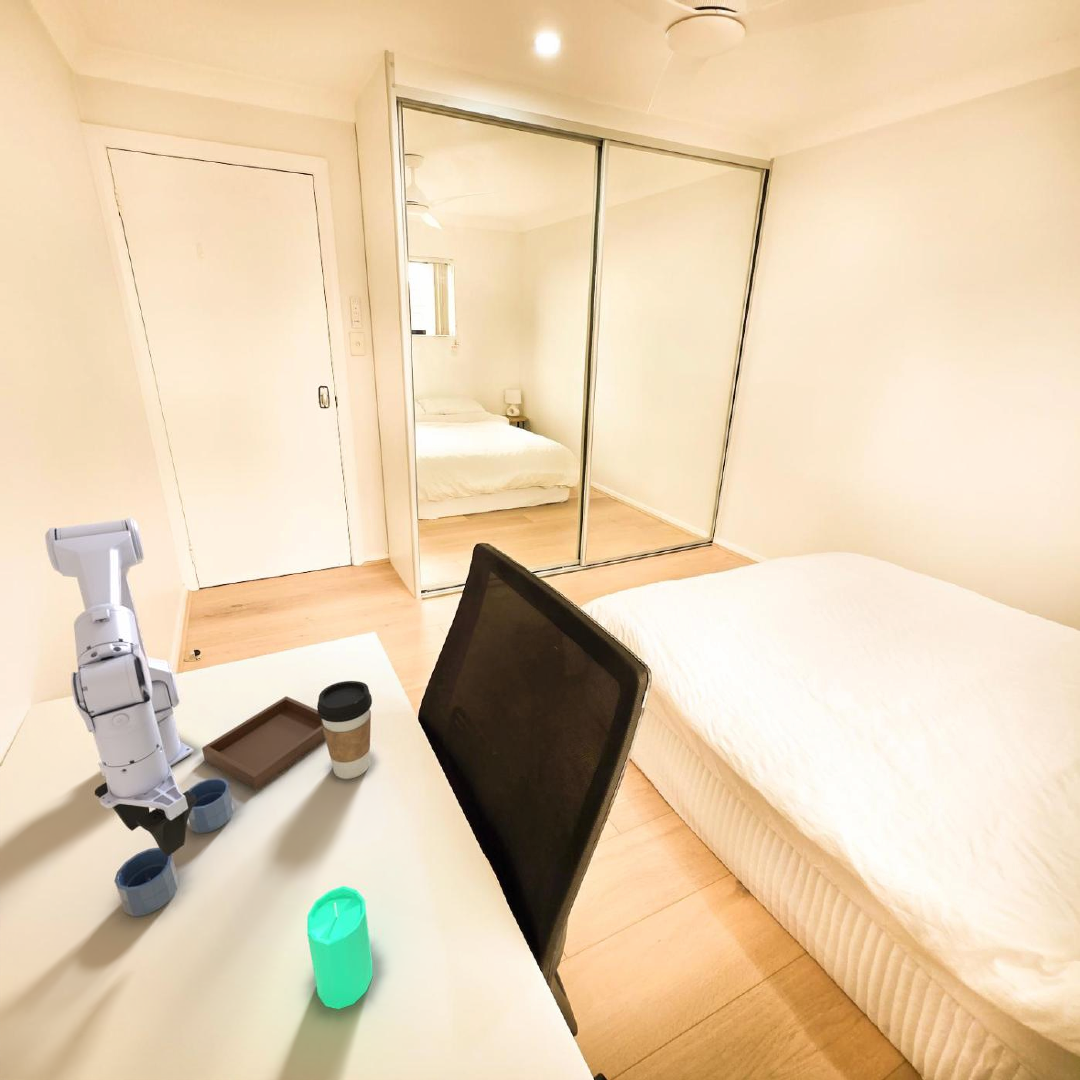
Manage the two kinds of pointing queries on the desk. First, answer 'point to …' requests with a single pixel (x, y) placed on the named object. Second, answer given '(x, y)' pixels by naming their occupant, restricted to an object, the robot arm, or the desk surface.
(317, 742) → the tray
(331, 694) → the coffee cup
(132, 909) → the rice bowl
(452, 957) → the desk surface
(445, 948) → the desk surface
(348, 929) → the candle
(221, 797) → the rice bowl
